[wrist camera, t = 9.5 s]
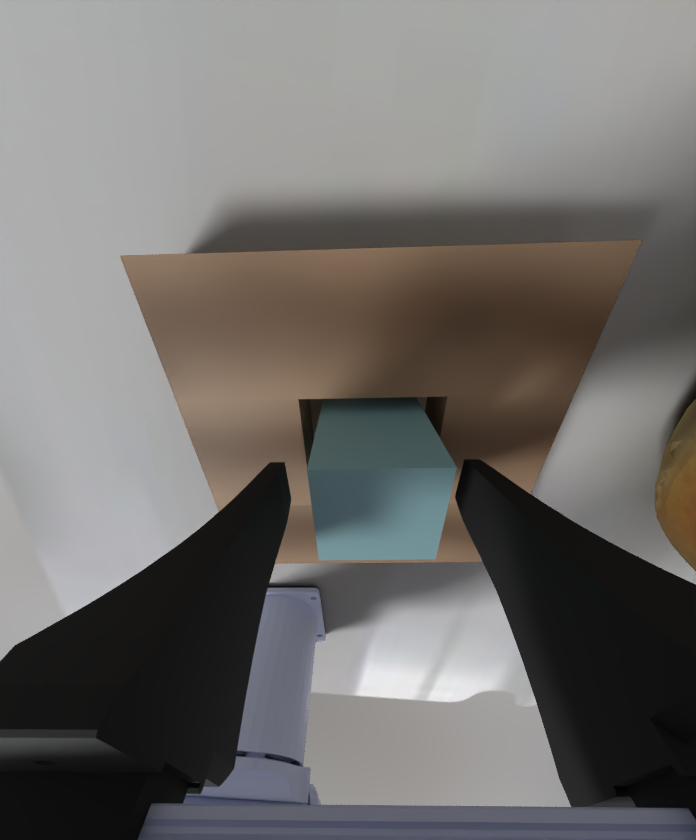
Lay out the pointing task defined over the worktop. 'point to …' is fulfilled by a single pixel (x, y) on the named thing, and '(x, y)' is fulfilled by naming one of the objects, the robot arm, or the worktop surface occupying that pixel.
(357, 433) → the peg
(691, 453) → the ceramic pitcher
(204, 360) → the socket block
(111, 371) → the worktop surface
